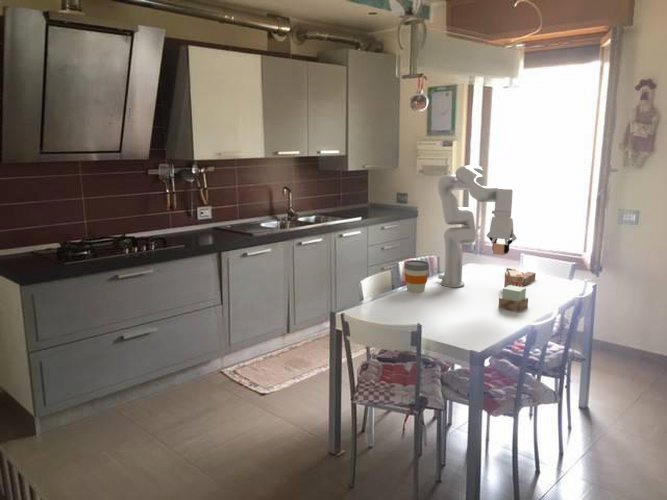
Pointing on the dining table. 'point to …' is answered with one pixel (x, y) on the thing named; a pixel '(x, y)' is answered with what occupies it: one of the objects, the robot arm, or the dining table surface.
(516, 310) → the walnut tower base
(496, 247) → the terracotta cube
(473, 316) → the dining table surface
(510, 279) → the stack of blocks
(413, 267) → the reusable coffee cup
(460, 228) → the robot arm
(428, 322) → the dining table surface
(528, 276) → the wooden block set
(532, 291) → the dining table surface
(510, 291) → the sage tower block
